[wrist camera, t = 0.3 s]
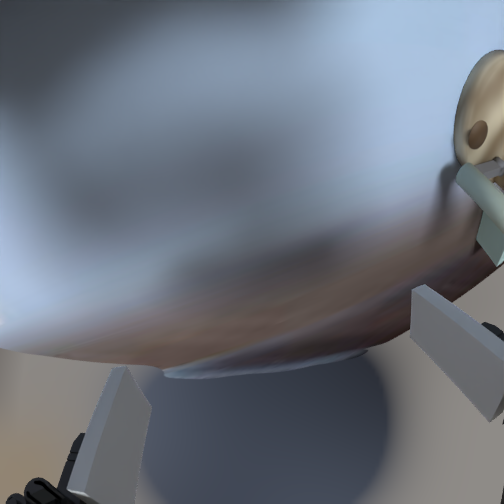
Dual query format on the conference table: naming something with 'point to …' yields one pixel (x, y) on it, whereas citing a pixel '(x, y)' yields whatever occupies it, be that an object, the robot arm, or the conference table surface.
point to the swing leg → (484, 188)
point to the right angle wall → (491, 239)
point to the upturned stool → (482, 114)
